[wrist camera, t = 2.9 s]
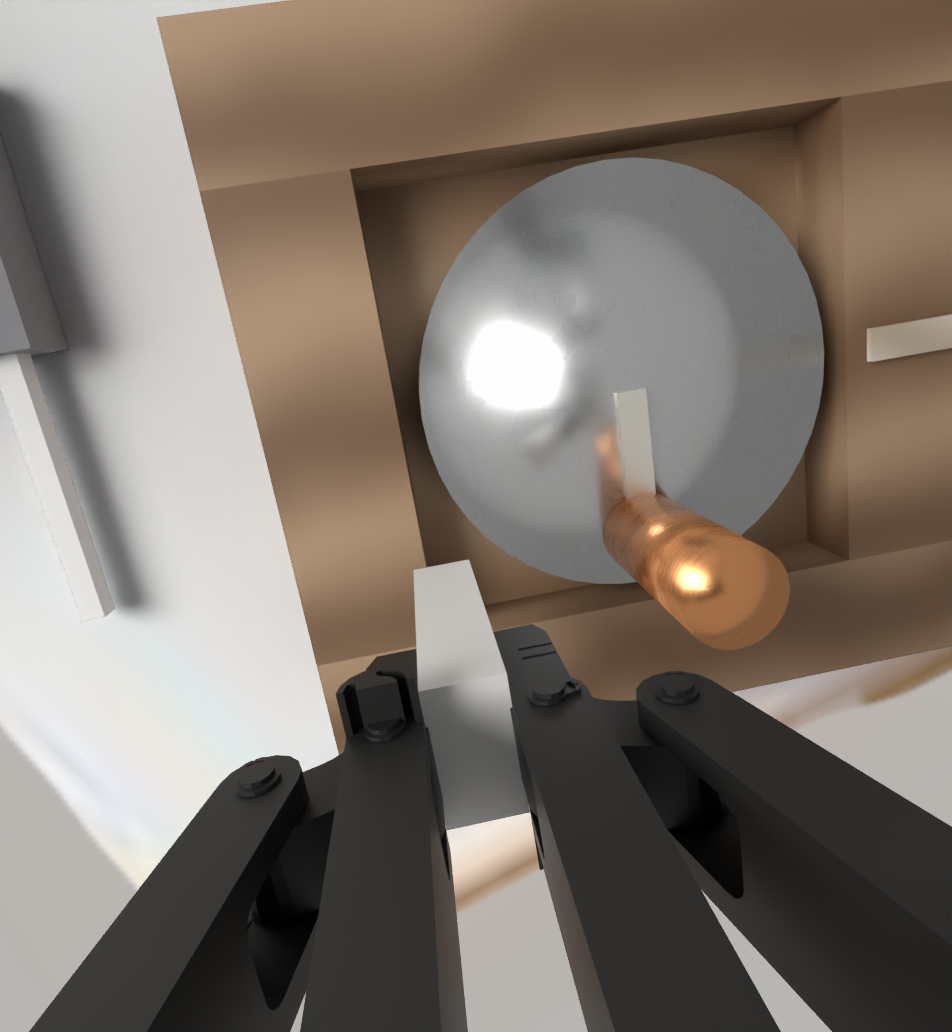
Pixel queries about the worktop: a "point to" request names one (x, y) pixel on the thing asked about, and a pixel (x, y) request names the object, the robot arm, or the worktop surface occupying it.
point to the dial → (629, 386)
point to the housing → (498, 179)
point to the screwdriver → (40, 398)
